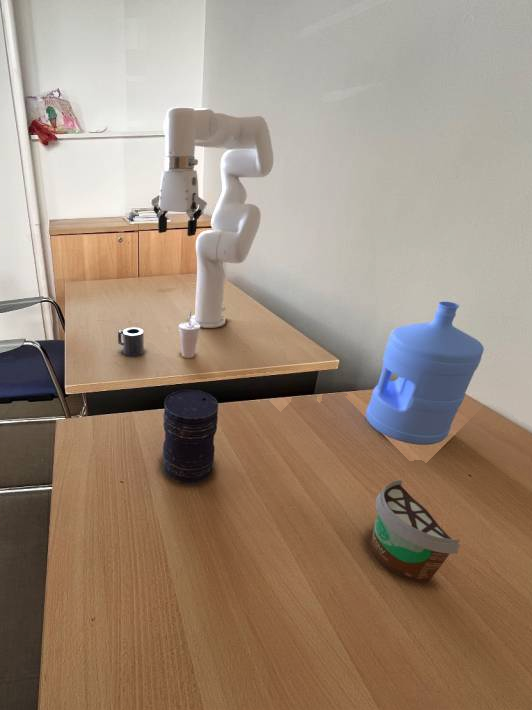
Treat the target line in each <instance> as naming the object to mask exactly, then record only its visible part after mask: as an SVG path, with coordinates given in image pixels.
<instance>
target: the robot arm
mask: <svg viewBox="0 0 532 710" xmlns="http://www.w3.org/2000/svg"><path fill="white" fill-rule="evenodd" d="M163 135H164V137H165V143H164V144H165V145H164V146H165V147H164V170H162V173H161V180H160V185H159V194H158V195H156V197H154V198H152V199H151V200H150V203H151V206H152V209H153V212H154V214H155V215H156V218H157V219H158V220H157V221H158V222H157V228H158V229H157V230H158V233H159V234H163V233H166V232H167V231H168V217H167V216H166V215H167V214H168V213H169V212H173V213H186V215H187V217H188V218H189V219H188V221H187V233H186V235H187V237H193V236H195V235H196V233H197V230H198V229H197V228H198V227H197V226H198V220H199V219H200V217H201V216H202V215H203V213H204V211H205V209H206V207H207V205H208V202H206V201H205V200H204V199H202V198H201V197H200V196H199V179H198V172H197V170H195V166H197V165H198V163H199V160H198V159H197V158H196V157H195V151H196V150H195V149H196V147H202V148H215V149H222V150H227V151H225V152H224V153H223V155H222V157H221V159H220V178H221V188H222V189H221V194H220V196H219V199H218V201H217V203H216V206H215V209H214V211H213V212H212V215H211V220H210V227H211V229H212V230H211V229H208V230H205V231H202V232H200V233H199V234H198V235H197V238H196V240H195V254H196V265H197V266H196V284H195V285H196V287H195V304H194V305H195V306H194V314H193V315H191V322H195V323H198V324H199V325H200V328H205V329H215V328H220V327H223V326H224V325H225V324H226V318H225V317H224V316H223V312H225V311H226V309H227V308H226V306H225V305H223V304H224V293H225V281H226V272H225V267H224V266H223V264H222V263H228V264H242V263H243V262H244V261H245V260H246V259H247V257H248V255H249V253H250V251H251V247H252V245H253V243H254V241H255V238H256V235H257V233H258V232H259V231H258V230H259V228H260V224H261V214H262V213H261V210H260V207H259V206H257V205H256V204H253V203H246V201H247V198H248V197H247V196H248V194H247V191H246V188H245V186H244V185H243V183H242V181H241V180H240V178H264V177H267V176H268V175H270V173H271V171H272V169H273V166H274V151H273V145H272V139H271V134H270V130H269V126H268V124H267V121H266V119H265V118H264V117H263V116H260V115H254V116H241V117H239V116H238V117H237V116H232V115H229V114H225V113H221V112H215V111H213V110H212V109H210V108H205V107H203V108H193V107H189V106H176V107H171V108H169V109H168V110H167V112H166V115H165V119H164V121H163Z"/></svg>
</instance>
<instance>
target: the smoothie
mask: <svg viewBox="0 0 532 710" xmlns="http://www.w3.org/2000/svg"><path fill="white" fill-rule="evenodd" d="M191 317H192V310H189V311H188V321H184V322H180V323H179V325H178V330H179V337H180V338H179V339H180V347H181V356H182V358H186V359H190V358H191V359H192V358H194V357H195V354H196V348H197V342H198V338H199V333H200V330H201V327H200V325H199V324H198V323H195V322H191Z"/></svg>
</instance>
